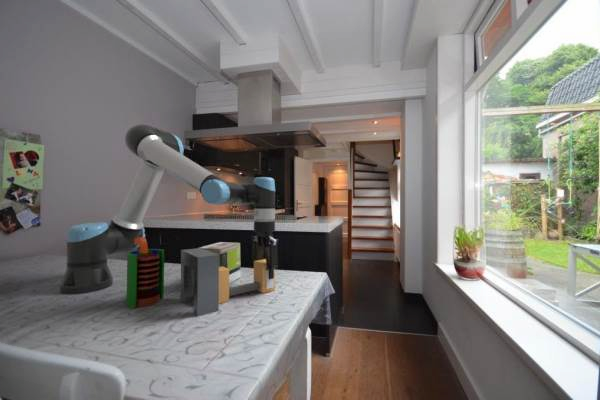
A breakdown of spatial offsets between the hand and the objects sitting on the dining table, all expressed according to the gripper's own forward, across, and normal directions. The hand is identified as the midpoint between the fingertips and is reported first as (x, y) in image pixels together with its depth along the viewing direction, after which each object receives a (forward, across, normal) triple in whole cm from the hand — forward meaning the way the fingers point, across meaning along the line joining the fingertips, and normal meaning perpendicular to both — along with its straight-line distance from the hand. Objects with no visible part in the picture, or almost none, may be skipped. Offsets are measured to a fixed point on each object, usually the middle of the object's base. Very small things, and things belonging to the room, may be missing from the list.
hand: (264, 285), depth 95 cm
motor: (+2, -14, -35) cm, 38 cm away
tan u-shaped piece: (+1, 0, -9) cm, 9 cm away
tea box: (+2, -19, -8) cm, 21 cm away
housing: (+1, 0, -23) cm, 23 cm away
